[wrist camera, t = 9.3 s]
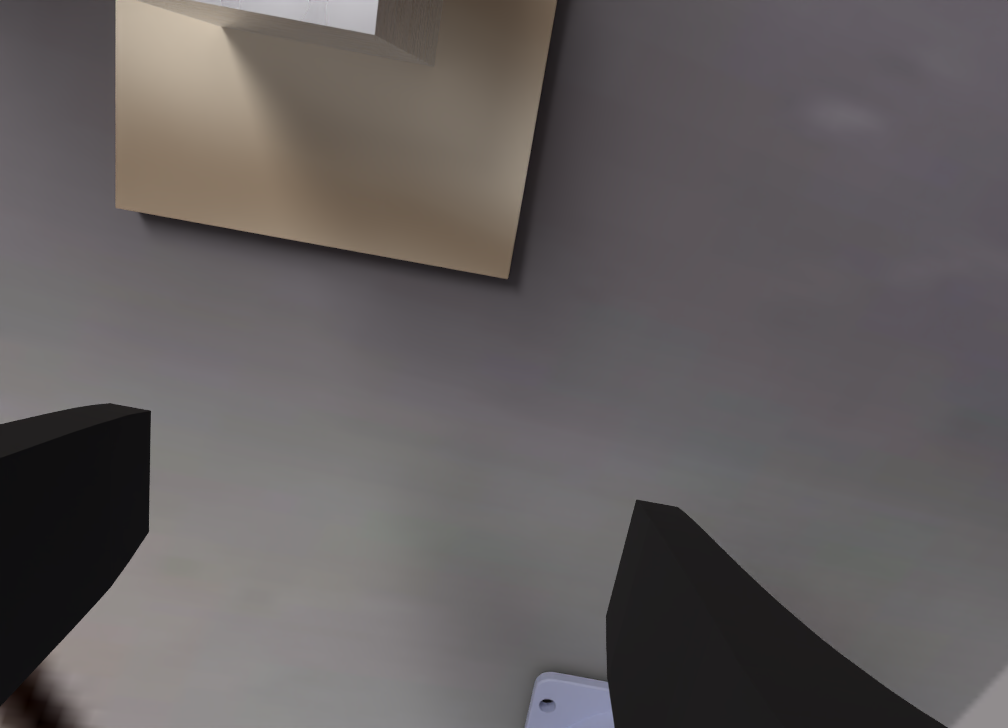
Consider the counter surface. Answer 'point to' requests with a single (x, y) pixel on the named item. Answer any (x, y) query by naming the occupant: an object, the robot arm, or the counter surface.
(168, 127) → the board
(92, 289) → the counter surface
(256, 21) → the brushed gray cube
